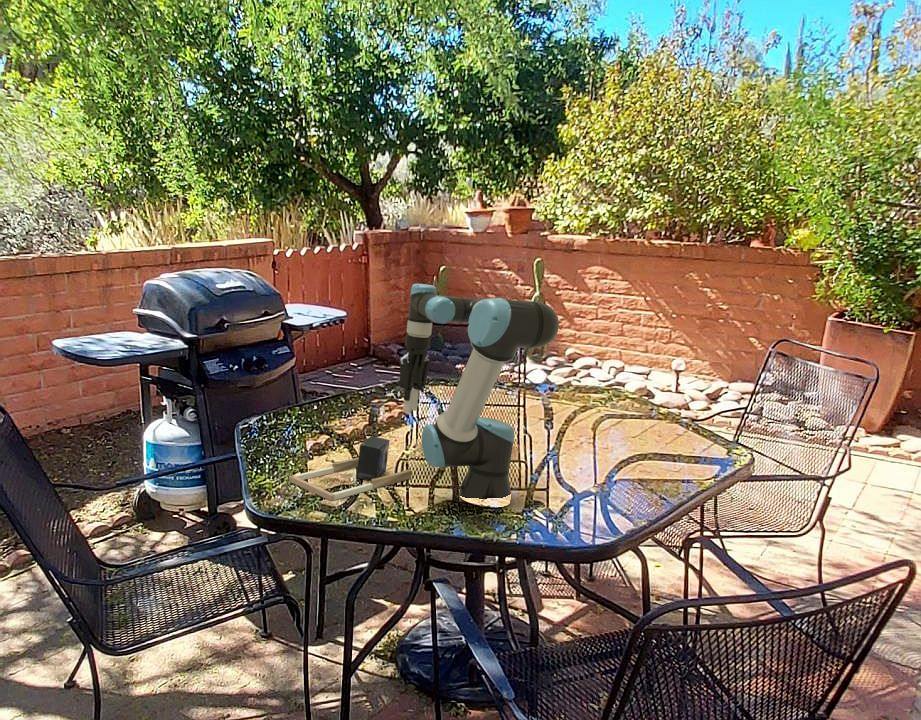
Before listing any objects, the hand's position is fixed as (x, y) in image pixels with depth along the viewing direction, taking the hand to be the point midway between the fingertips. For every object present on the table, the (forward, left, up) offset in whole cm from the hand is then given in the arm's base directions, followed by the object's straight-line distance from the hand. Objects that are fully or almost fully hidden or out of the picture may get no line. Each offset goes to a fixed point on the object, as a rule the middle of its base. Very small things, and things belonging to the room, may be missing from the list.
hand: (409, 409), depth 230 cm
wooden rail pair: (0, +14, -18) cm, 23 cm away
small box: (0, +14, -19) cm, 23 cm away
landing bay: (0, +30, -18) cm, 35 cm away
